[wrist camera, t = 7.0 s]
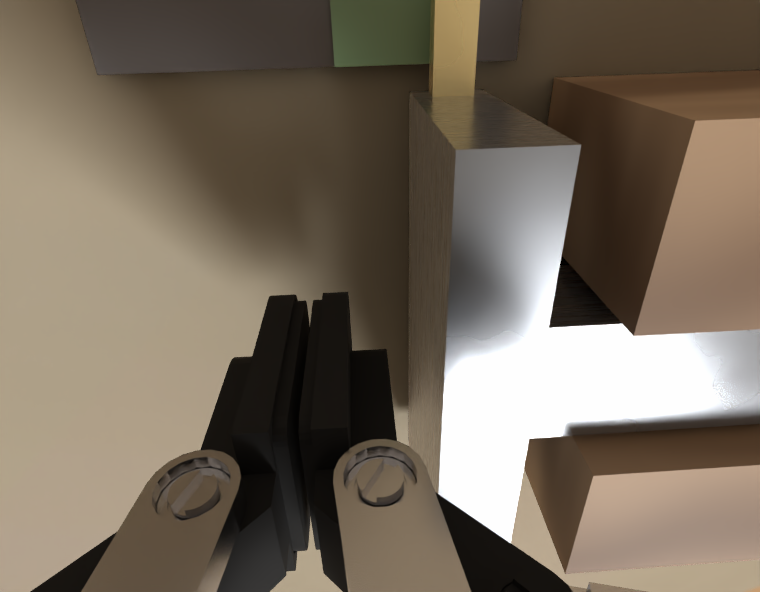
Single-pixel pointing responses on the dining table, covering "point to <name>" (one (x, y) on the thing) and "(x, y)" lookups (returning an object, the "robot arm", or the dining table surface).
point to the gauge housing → (581, 244)
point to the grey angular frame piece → (525, 301)
